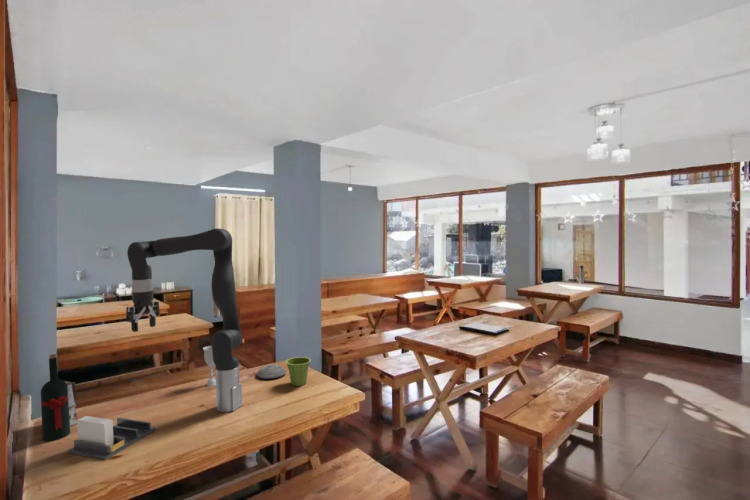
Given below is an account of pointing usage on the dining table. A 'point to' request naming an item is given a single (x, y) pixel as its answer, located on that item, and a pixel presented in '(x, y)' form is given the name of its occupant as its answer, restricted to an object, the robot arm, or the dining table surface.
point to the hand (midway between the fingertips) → (144, 329)
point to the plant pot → (298, 370)
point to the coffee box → (72, 402)
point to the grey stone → (271, 371)
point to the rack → (122, 436)
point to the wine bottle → (54, 405)
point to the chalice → (209, 364)
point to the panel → (95, 430)
